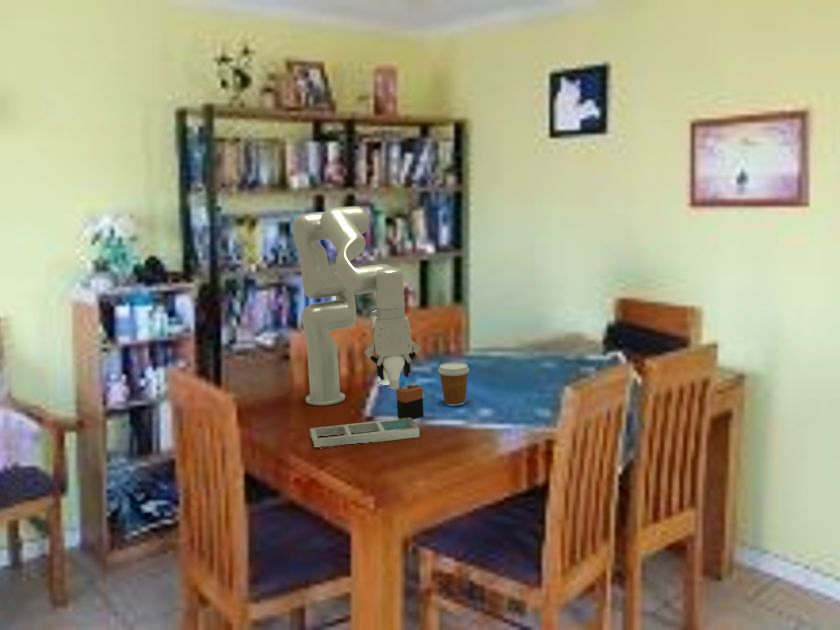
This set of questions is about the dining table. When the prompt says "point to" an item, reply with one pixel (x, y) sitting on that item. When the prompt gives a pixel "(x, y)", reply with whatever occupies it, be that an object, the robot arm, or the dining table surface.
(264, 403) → the dining table surface
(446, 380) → the disposable coffee cup
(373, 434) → the rail
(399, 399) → the battery
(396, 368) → the lightbulb
